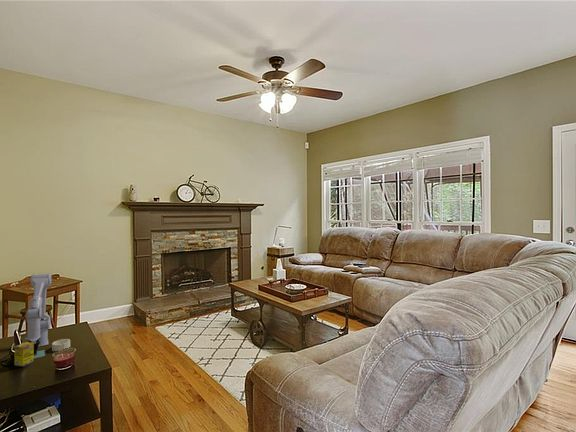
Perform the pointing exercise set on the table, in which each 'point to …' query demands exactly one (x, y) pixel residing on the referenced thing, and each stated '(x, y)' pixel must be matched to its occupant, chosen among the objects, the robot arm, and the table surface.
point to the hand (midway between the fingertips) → (33, 352)
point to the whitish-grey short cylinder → (60, 344)
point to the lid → (39, 354)
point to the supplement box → (24, 354)
